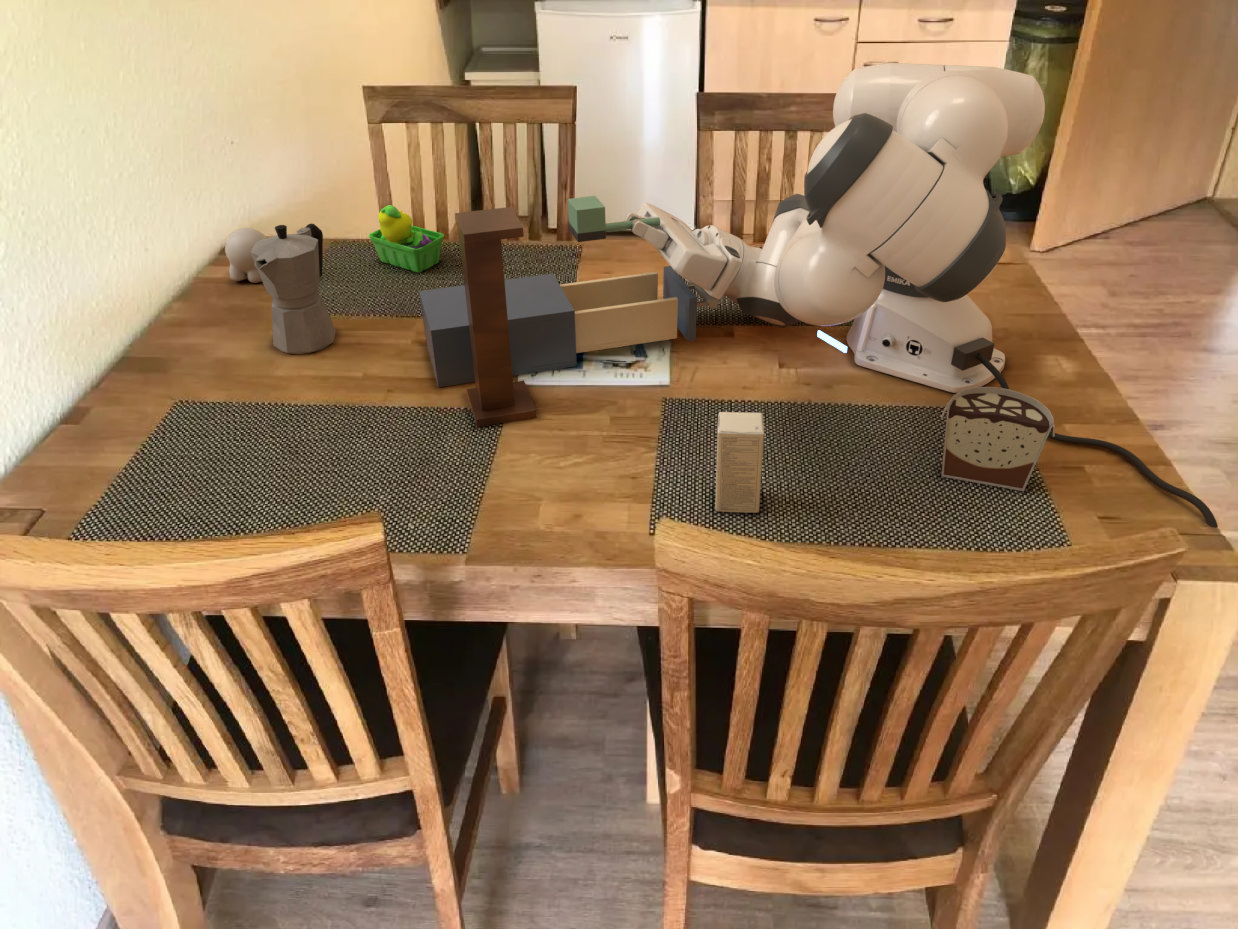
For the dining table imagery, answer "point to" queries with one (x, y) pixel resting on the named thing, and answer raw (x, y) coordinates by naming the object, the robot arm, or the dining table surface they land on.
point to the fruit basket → (405, 241)
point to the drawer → (633, 310)
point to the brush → (595, 219)
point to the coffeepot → (295, 289)
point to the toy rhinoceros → (243, 254)
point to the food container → (994, 436)
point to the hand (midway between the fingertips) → (630, 221)
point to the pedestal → (490, 317)
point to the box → (739, 462)
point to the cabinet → (533, 323)
